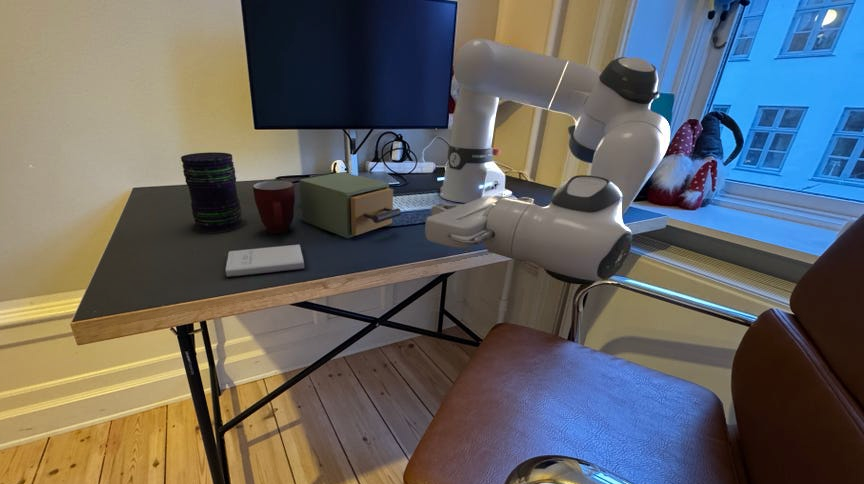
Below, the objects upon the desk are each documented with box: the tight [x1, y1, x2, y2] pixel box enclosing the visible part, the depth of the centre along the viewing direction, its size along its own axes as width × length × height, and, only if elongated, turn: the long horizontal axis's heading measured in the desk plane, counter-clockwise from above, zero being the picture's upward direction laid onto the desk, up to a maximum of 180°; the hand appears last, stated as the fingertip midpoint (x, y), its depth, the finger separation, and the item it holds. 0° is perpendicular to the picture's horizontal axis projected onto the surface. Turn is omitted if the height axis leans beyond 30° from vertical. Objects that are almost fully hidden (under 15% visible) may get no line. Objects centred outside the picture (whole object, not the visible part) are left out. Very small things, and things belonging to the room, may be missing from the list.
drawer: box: [349, 187, 402, 237], centre depth 80 cm, size 19×11×8 cm, turn 47°
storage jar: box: [180, 151, 244, 234], centre depth 78 cm, size 10×10×15 cm
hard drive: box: [225, 244, 305, 278], centre depth 64 cm, size 2×8×12 cm
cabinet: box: [298, 171, 390, 239], centre depth 83 cm, size 16×13×10 cm
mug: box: [252, 180, 296, 235], centre depth 76 cm, size 11×8×10 cm
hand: (435, 208), depth 66 cm, fingers closed
